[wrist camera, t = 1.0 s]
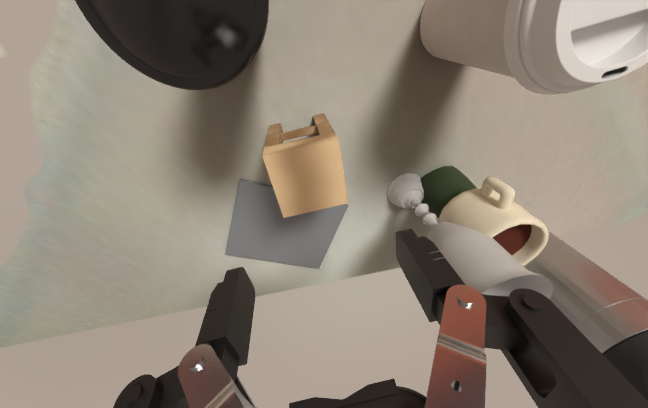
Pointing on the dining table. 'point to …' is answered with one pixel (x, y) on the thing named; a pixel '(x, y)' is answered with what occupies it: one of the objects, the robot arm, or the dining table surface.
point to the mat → (279, 229)
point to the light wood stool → (305, 168)
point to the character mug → (485, 211)
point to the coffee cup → (540, 39)
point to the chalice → (468, 247)
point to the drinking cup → (182, 37)
